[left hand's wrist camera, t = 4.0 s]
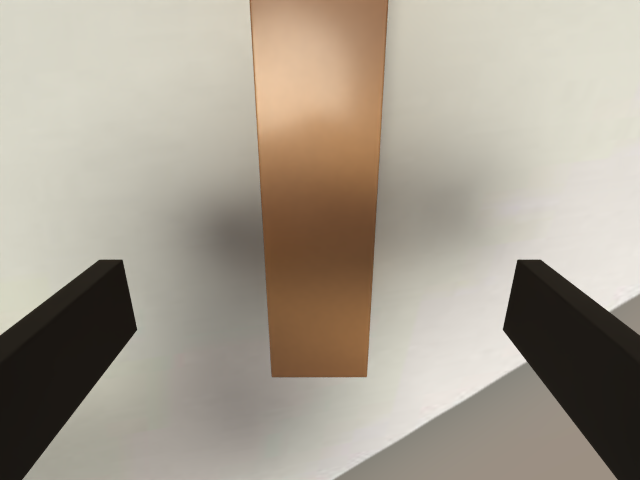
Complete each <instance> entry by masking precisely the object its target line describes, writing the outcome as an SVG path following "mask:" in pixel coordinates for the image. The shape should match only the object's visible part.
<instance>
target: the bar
mask: <svg viewBox="0 0 640 480" xmlns="http://www.w3.org/2000/svg"><path fill="white" fill-rule="evenodd" d="M387 14H388V0H250V15H251V32H252V49H253V66H254V84H255V101H256V118H257V135H258V152H259V169H260V186H261V203H262V220H263V237H264V255H265V272H266V289H267V306H268V323H269V340H270V357H271V374H272V377H367V366H368V348H369V331H370V313H371V295H372V278H373V260H374V243H375V225H376V207H377V190H378V172H379V155H380V137H381V119H382V102H383V84H384V66H385V49H386V31H387Z"/></svg>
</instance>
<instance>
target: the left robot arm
mask: <svg viewBox="0 0 640 480" xmlns="http://www.w3.org/2000/svg"><path fill="white" fill-rule="evenodd" d="M136 331H137V327H136V322H135V317H134V312H133V307H132V303H131V298H130V293H129V288H128V284H127V279H126V274H125V269H124V264H123V260H98V261H97V262H96V263H95V264H93V265H92V266H91V267H89V268H88V269H87V270H85V271H84V272H83V273H81V274H80V275H79V276H78V277H76V278H75V279H74V280H72V281H71V282H70V283H68V284H67V285H66V286H64V287H63V288H62V289H60V290H59V291H58V292H57V293H55V294H54V295H53V296H51V297H50V298H49V299H47V300H46V301H45V302H43V303H42V304H41V305H40V306H38V307H37V308H36V309H34V310H33V311H32V312H30V313H29V314H28V315H26V316H25V317H24V318H22V319H21V320H20V321H19V322H17V323H16V324H15V325H13V326H12V327H11V328H9V329H8V330H7V331H5V332H4V333H3V334H2V335H0V480H22V479H23V478H24V477H25V475H26V474H27V473H28V471H29V470H30V469H31V468H32V466H33V465H34V464H35V462H36V461H37V460H38V458H39V457H40V456H41V455H42V453H43V452H44V451H45V449H46V448H47V447H48V445H49V444H50V443H51V441H52V440H53V439H54V438H55V436H56V435H57V434H58V432H59V431H60V430H61V428H62V427H63V426H64V425H65V423H66V422H67V421H68V419H69V418H70V417H71V415H72V414H73V413H74V411H75V410H76V409H77V408H78V406H79V405H80V404H81V402H82V401H83V400H84V398H85V397H86V396H87V395H88V393H89V392H90V391H91V389H92V388H93V387H94V385H95V384H96V383H97V381H98V380H99V379H100V378H101V376H102V375H103V374H104V372H105V371H106V370H107V368H108V367H109V366H110V365H111V363H112V362H113V361H114V359H115V358H116V357H117V355H118V354H119V353H120V351H121V350H122V349H123V348H124V346H125V345H126V344H127V342H128V341H129V340H130V338H131V337H132V336H133V335H134V333H135V332H136ZM503 331H504V332H505V333H506V335H507V336H508V337H509V338H510V340H511V341H512V342H513V344H514V345H515V346H516V348H517V349H518V350H519V351H520V353H521V354H522V355H523V357H524V358H525V359H526V361H527V362H528V363H529V364H530V366H531V367H532V368H533V370H534V371H535V372H536V374H537V375H538V376H539V378H540V379H541V380H542V381H543V383H544V384H545V385H546V387H547V388H548V389H549V391H550V392H551V393H552V395H553V396H554V397H555V398H556V400H557V401H558V402H559V404H560V405H561V406H562V408H563V409H564V410H565V411H566V413H567V414H568V415H569V417H570V418H571V419H572V421H573V422H574V423H575V425H576V426H577V427H578V428H579V430H580V431H581V432H582V434H583V435H584V436H585V438H586V439H587V440H588V441H589V443H590V444H591V445H592V447H593V448H594V449H595V451H596V452H597V453H598V455H599V456H600V457H601V458H602V460H603V461H604V462H605V464H606V465H607V466H608V468H609V469H610V470H611V471H612V473H613V474H614V475H615V477H616V478H617V479H618V480H640V335H638V334H637V333H636V332H635V331H633V330H632V329H631V328H629V327H628V326H627V325H625V324H624V323H623V322H621V321H620V320H619V319H617V318H616V317H615V316H614V315H612V314H611V313H610V312H608V311H607V310H606V309H604V308H603V307H602V306H600V305H599V304H598V303H597V302H595V301H594V300H593V299H591V298H590V297H589V296H587V295H586V294H585V293H583V292H582V291H581V290H580V289H578V288H577V287H576V286H574V285H573V284H572V283H570V282H569V281H568V280H566V279H565V278H564V277H562V276H561V275H560V274H559V273H557V272H556V271H555V270H553V269H552V268H551V267H549V266H548V265H547V264H545V263H544V262H543V261H542V260H517V264H516V269H515V274H514V279H513V284H512V288H511V293H510V298H509V303H508V307H507V312H506V317H505V322H504V327H503Z"/></svg>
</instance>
